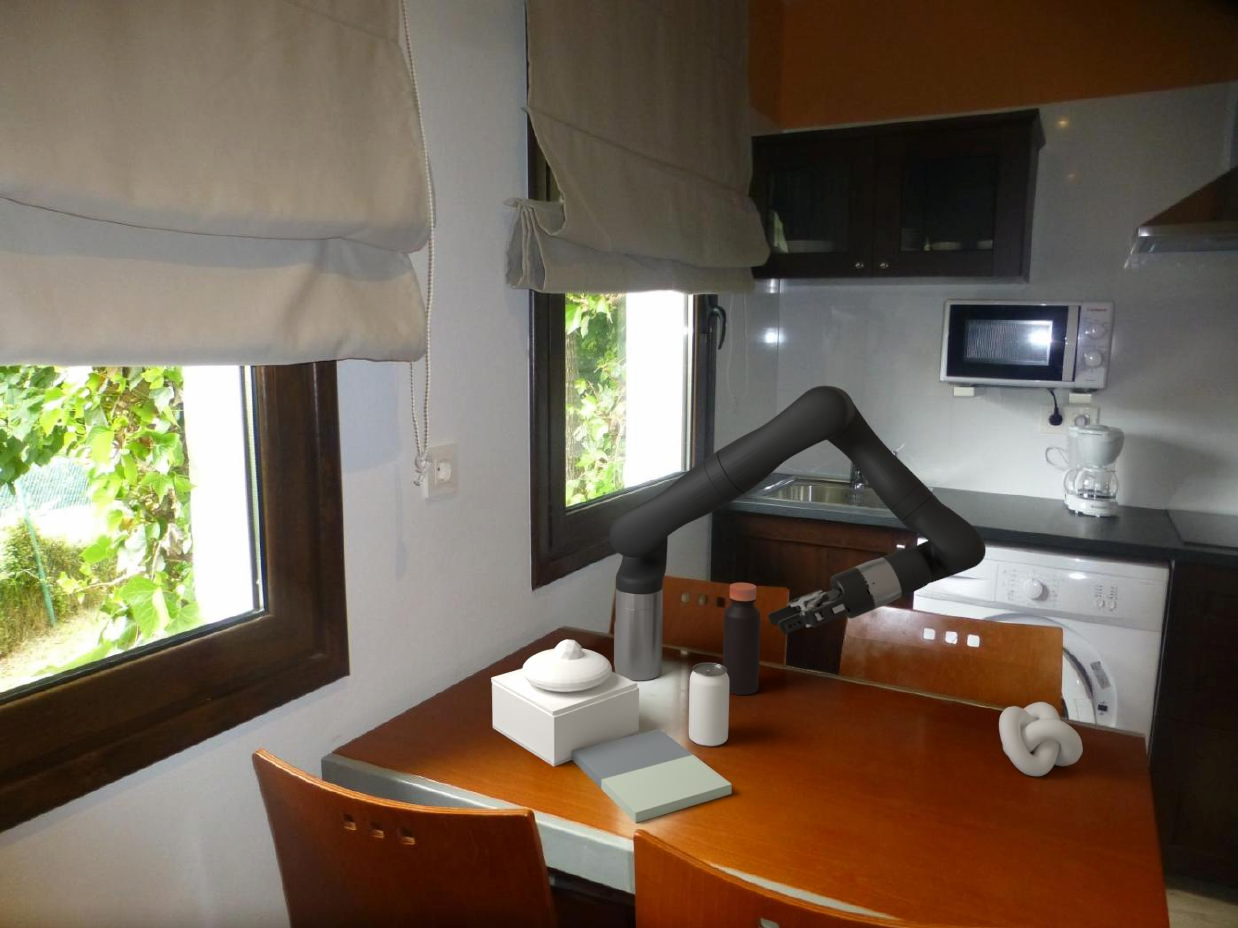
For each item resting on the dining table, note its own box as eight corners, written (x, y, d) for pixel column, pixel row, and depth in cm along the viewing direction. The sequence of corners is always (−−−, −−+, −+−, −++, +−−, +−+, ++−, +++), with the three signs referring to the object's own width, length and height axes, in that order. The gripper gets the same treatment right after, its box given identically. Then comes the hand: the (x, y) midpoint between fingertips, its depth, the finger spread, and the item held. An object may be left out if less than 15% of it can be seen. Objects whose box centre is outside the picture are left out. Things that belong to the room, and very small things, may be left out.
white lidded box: (554, 767, 130) (553, 668, 128) (491, 727, 144) (489, 637, 141) (639, 734, 142) (640, 643, 139) (573, 699, 155) (573, 616, 153)
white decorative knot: (1038, 792, 124) (1043, 734, 122) (972, 756, 134) (976, 702, 133) (1090, 775, 128) (1095, 719, 127) (1022, 742, 139) (1026, 690, 138)
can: (727, 730, 143) (729, 662, 141) (728, 748, 136) (730, 677, 135) (688, 728, 143) (690, 660, 142) (688, 746, 137) (689, 675, 135)
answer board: (571, 759, 132) (571, 750, 132) (659, 737, 140) (659, 728, 140) (635, 822, 115) (635, 812, 115) (731, 793, 123) (731, 783, 122)
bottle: (732, 678, 165) (735, 579, 162) (764, 687, 161) (767, 585, 158) (715, 690, 159) (718, 587, 156) (748, 699, 155) (751, 593, 153)
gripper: (844, 562, 147) (758, 597, 146) (870, 570, 133) (775, 609, 132) (861, 603, 147) (774, 638, 146) (888, 614, 132) (793, 653, 132)
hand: (774, 624), depth 139 cm, fingers open, 8 cm apart
